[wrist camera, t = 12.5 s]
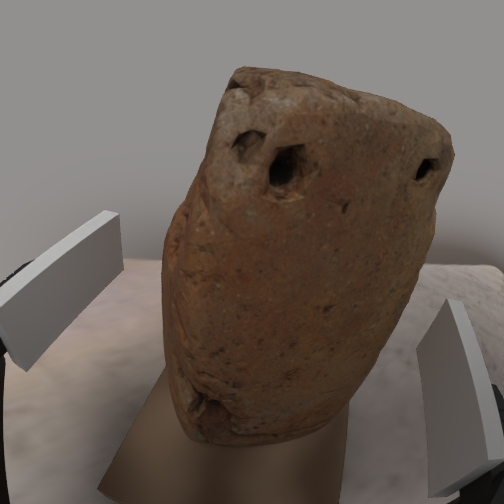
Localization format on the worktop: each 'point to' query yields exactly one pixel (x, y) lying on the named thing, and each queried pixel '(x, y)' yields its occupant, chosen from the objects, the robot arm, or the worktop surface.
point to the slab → (221, 463)
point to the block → (294, 253)
